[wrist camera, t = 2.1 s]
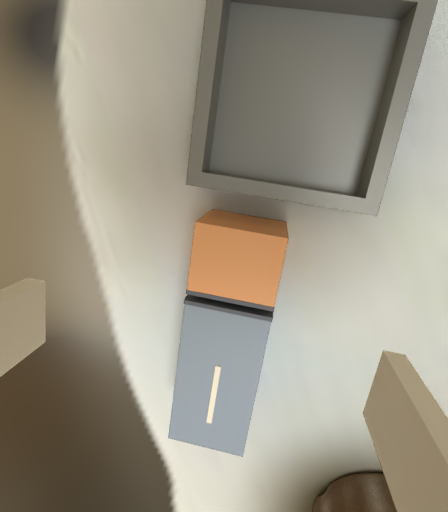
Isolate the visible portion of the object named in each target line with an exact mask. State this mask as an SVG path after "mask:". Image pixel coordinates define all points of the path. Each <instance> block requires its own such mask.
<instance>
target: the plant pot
mask: <svg viewBox="0 0 448 512" xmlns="http://www.w3.org/2000/svg"><path fill="white" fill-rule="evenodd" d="M312 512H397V510H396V507H395V505H394V502H393V499H392V496H391V493H390V490H389V487H388V484H387V481H386V478H385V476H384V474H382V473H360V474H354V475H349V476H346V477H342V478H340V479H338V480H335V481H334V482H332V483H330V485H329V486H328V488H327V490H326V491H325V493H324V494H323V495H321V496H317V498H316V500H315V502H314V505H313V509H312Z"/></svg>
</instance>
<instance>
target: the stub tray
mask: <svg viewBox="0 0 448 512" xmlns="http://www.w3.org/2000/svg"><path fill="white" fill-rule="evenodd" d="M437 2H438V0H207V2H206V11H205V20H204V29H203V37H202V46H201V55H200V64H199V73H198V82H197V91H196V100H195V109H194V118H193V127H192V135H191V144H190V153H189V162H188V171H187V180H186V185H192V186H198V187H204V188H211V189H217V190H223V191H229V192H235V193H241V194H247V195H253V196H259V197H265V198H271V199H277V200H283V201H289V202H295V203H301V204H307V205H313V206H319V207H325V208H331V209H337V210H343V211H349V212H355V213H361V214H367V215H373V216H377V214H378V211H379V207H380V204H381V200H382V196H383V193H384V189H385V186H386V182H387V179H388V175H389V172H390V168H391V165H392V161H393V157H394V154H395V150H396V147H397V143H398V140H399V136H400V133H401V129H402V126H403V122H404V119H405V115H406V111H407V108H408V104H409V101H410V97H411V94H412V90H413V87H414V83H415V80H416V76H417V73H418V69H419V65H420V62H421V58H422V55H423V51H424V48H425V44H426V41H427V37H428V34H429V30H430V27H431V23H432V19H433V16H434V12H435V9H436V5H437Z"/></svg>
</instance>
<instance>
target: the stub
mask: <svg viewBox="0 0 448 512" xmlns="http://www.w3.org/2000/svg"><path fill="white" fill-rule="evenodd" d="M287 243H288V231H287V224H286V222H282V221H277V220H271V219H265V218H259V217H254V216H248V215H242V214H236V213H230V212H225V211H219V210H213V209H212V210H211V211H210V212H208V213H207V214H205V215H204V216H203V217H201V218H200V219H199V220H197V221H196V222H195V228H194V236H193V244H192V252H191V260H190V268H189V276H188V284H187V290H186V294H188V295H193V296H198V297H203V298H208V299H213V300H218V301H223V302H228V303H233V304H238V305H243V306H248V307H253V308H258V309H263V310H268V311H273V312H274V305H275V300H276V296H277V291H278V286H279V281H280V277H281V272H282V267H283V262H284V257H285V253H286V248H287Z"/></svg>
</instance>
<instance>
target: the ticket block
mask: <svg viewBox="0 0 448 512" xmlns="http://www.w3.org/2000/svg"><path fill="white" fill-rule="evenodd" d="M184 304H185V306H184V314H183V322H182V330H181V338H180V346H179V354H178V362H177V371H176V379H175V387H174V395H173V403H172V411H171V419H170V427H169V435H168V438H170V439H174V440H178V441H182V442H186V443H190V444H194V445H198V446H202V447H206V448H210V449H214V450H218V451H222V452H226V453H230V454H233V455H237V456H241V457H243V453H244V449H245V444H246V439H247V434H248V429H249V425H250V420H251V415H252V410H253V406H254V401H255V396H256V391H257V386H258V382H259V377H260V372H261V367H262V363H263V358H264V353H265V348H266V343H267V339H268V334H269V329H270V324H271V322H272V319H273V311H268V310H263V309H258V308H253V307H248V306H243V305H238V304H233V303H228V302H223V301H218V300H213V299H208V298H203V297H198V296H193V295H187V297H186V298H185V300H184Z"/></svg>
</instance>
